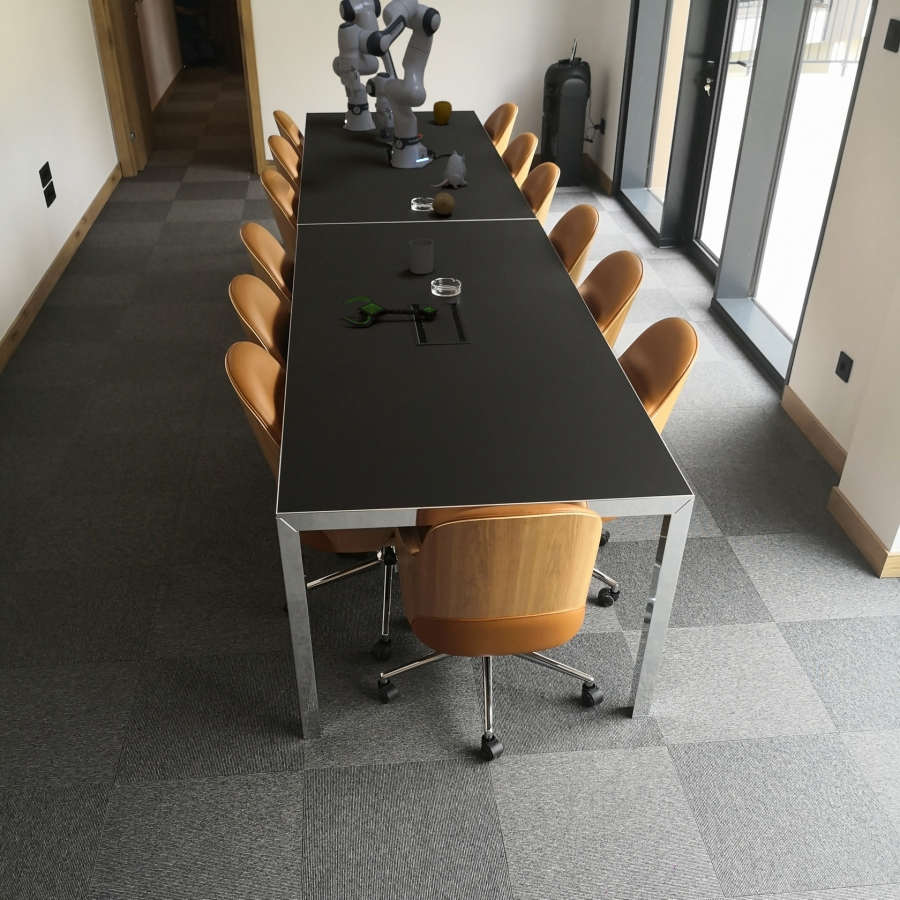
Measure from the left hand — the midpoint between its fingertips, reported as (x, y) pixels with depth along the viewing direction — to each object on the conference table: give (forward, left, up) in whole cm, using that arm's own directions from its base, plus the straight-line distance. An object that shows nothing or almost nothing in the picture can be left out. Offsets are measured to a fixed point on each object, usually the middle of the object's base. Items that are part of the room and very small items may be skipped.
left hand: (385, 134), depth 460 cm
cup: (+183, +34, -5) cm, 186 cm away
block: (0, 0, -2) cm, 2 cm away
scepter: (+226, +27, -5) cm, 227 cm away
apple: (-50, +27, -5) cm, 58 cm away
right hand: (+78, -5, +32) cm, 84 cm away
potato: (+118, +38, -5) cm, 124 cm away
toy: (+80, +37, -5) cm, 89 cm away
